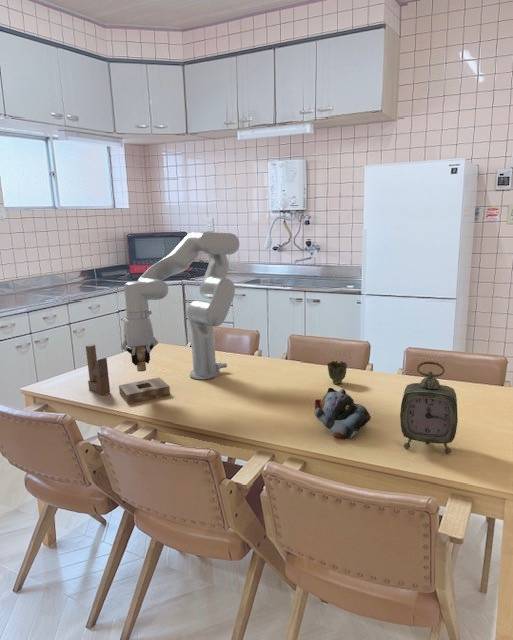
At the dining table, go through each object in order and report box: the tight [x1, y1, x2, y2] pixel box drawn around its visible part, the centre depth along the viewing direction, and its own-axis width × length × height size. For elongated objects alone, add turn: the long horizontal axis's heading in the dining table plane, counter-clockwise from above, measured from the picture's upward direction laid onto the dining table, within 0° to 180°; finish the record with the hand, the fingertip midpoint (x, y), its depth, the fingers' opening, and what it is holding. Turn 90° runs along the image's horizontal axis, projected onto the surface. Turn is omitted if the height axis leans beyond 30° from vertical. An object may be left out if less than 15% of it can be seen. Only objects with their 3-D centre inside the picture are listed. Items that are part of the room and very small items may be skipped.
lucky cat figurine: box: [314, 387, 372, 440], centre depth 148 cm, size 15×12×14 cm
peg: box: [135, 346, 147, 373], centre depth 182 cm, size 4×4×10 cm
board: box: [118, 376, 171, 405], centre depth 185 cm, size 16×12×4 cm
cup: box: [327, 360, 348, 385], centre depth 188 cm, size 8×7×8 cm
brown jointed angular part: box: [85, 343, 111, 396], centre depth 189 cm, size 4×11×18 cm, turn 45°
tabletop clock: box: [399, 361, 459, 455], centre depth 134 cm, size 14×9×25 cm, turn 69°
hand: (141, 363), depth 182 cm, fingers closed on peg, 3 cm apart
